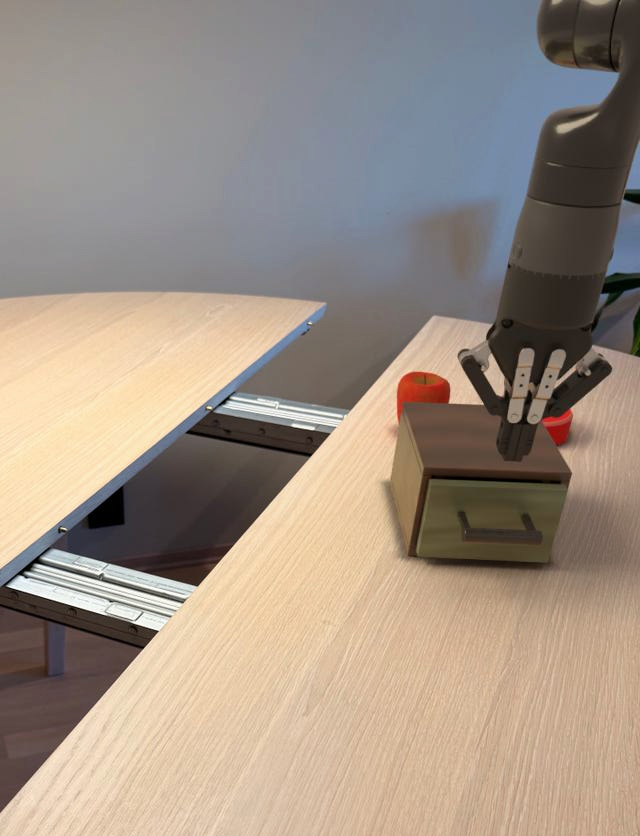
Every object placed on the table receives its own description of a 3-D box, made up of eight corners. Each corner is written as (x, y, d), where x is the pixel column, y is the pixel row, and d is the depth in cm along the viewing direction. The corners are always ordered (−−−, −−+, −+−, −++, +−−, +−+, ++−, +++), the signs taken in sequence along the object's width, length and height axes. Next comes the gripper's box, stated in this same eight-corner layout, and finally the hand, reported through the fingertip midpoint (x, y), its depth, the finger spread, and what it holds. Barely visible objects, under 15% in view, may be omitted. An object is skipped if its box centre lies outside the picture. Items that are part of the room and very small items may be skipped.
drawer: (560, 589, 92) (582, 514, 87) (424, 582, 93) (439, 508, 88) (515, 493, 108) (532, 425, 103) (399, 488, 108) (410, 420, 104)
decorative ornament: (496, 410, 128) (501, 387, 126) (573, 425, 125) (579, 401, 123) (479, 437, 121) (484, 413, 120) (559, 453, 118) (566, 429, 116)
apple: (447, 429, 123) (458, 371, 119) (434, 447, 119) (446, 388, 114) (398, 419, 126) (407, 362, 121) (384, 437, 121) (393, 378, 117)
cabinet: (547, 562, 98) (572, 473, 92) (407, 555, 98) (423, 467, 93) (513, 488, 110) (533, 406, 105) (389, 483, 111) (402, 401, 105)
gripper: (629, 248, 81) (574, 443, 91) (466, 243, 81) (429, 437, 92) (660, 274, 75) (597, 480, 85) (483, 268, 75) (442, 473, 86)
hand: (510, 457), depth 88 cm, fingers closed
